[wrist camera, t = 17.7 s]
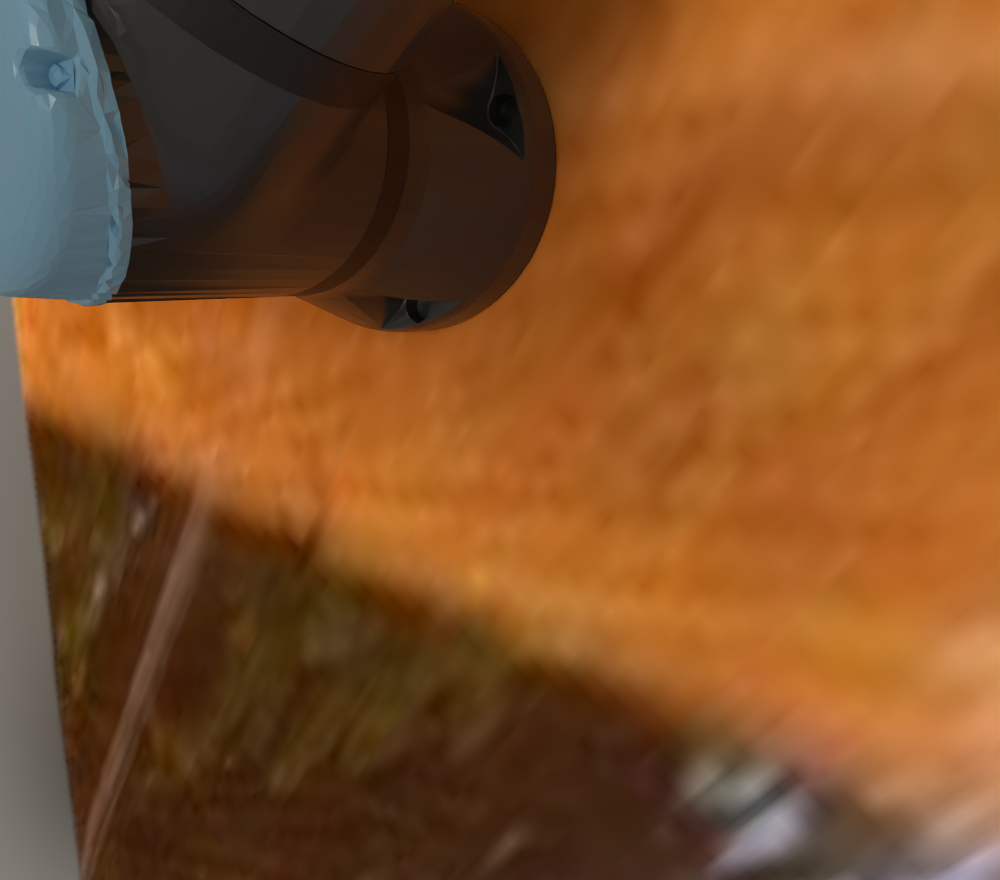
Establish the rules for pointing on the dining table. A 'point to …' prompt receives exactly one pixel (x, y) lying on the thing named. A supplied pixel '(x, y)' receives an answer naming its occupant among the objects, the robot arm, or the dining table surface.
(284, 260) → the robot arm
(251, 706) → the dining table surface
